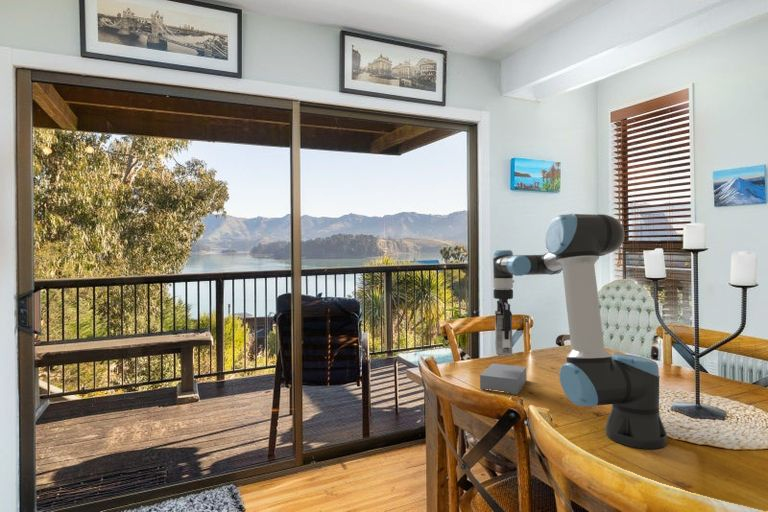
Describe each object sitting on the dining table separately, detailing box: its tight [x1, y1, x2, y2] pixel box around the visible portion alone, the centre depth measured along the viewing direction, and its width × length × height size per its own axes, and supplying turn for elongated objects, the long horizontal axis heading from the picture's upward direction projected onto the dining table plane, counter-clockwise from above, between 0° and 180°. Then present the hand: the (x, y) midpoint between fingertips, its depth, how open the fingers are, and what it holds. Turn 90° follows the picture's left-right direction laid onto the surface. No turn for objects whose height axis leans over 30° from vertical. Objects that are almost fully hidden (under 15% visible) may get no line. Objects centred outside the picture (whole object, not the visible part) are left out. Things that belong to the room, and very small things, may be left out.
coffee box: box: [494, 310, 513, 356], centre depth 179 cm, size 9×6×16 cm
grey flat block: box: [479, 363, 527, 395], centre depth 179 cm, size 20×14×6 cm
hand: (503, 344), depth 179 cm, fingers closed on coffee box, 9 cm apart
